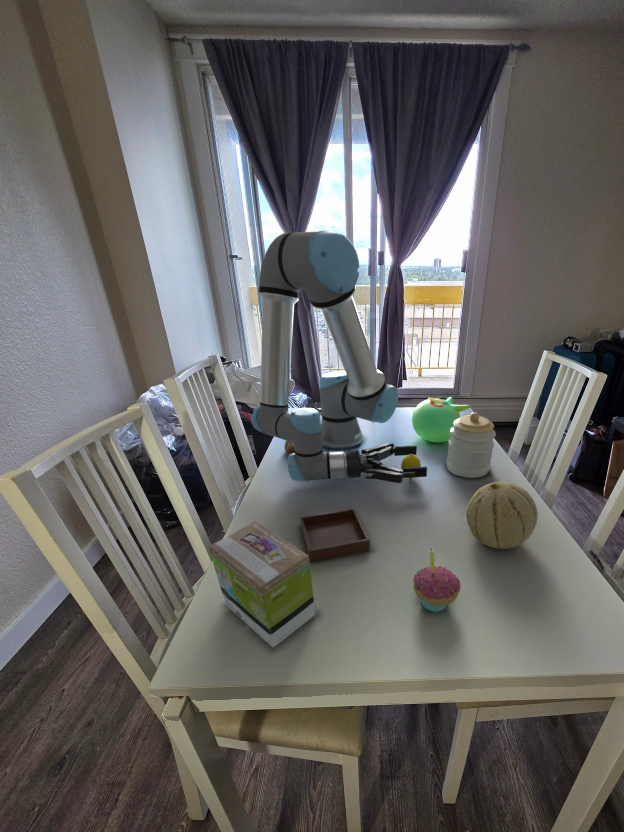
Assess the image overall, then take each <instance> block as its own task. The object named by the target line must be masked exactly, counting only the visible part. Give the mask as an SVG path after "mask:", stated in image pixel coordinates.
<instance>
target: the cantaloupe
mask: <svg viewBox="0 0 624 832" xmlns="http://www.w3.org/2000/svg"><path fill="white" fill-rule="evenodd" d="M466 521H467V525H468V528H469V531H470V532H471V534H472V536H473V537H474V538H475V539H476V540H477V541H479V543H481V544H483V545H485V546H487V547H489V548H491V549H492V548H493V549H497V550H499V549H501V550H502V549H503V550H504V549H505V550H507V549H513V548H516V547H519V546H520V545H522V544H524V543H525V542H526V541H527V540H528V539H529V538H530V536H531V535H533V533H534V531H535V529H536V526H537V522H538V508H537V504H536V502H535V501H534V498H533V497H532V496H531V494H530V493H529V492H528V491H527V490H526V489H525V488H523V487H521V486H520V485H518V484H515V483H513V482H509V481H497V482H490V483H488V484H485V485H483V486H481V487H480V488H478V489H476V491H475V492H474V493H473V495H472V496H471V498H470V500H469V502H468V504H467V508H466Z"/></svg>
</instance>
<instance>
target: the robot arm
mask: <svg viewBox="0 0 624 832" xmlns="http://www.w3.org/2000/svg"><path fill="white" fill-rule="evenodd" d="M359 269H360V260H359V256H358V252H357V249H356V248H355V246H354V244H353V242H352V241H351V240H350V239H349V238H348V237H347V236H346V235H344V234H342V233H340V232H338V231H330V230H326V229H325V230H324V229H322V230H319V231H287V232H283V233H281V234H280V235H278V236H276V237H275V238H274V239H273V241H271V243H270V244H269V246H268V248H267V249H266V252H265V254H264V257H263V260H262V263H261V267H260V272H259V280H258V281H259V282H258V295H259V296H260V298H261V299H262V318H261V321H262V322H261V351H260V353H261V354H260V355H261V357H260V391H259V405H257V406H255V408H254V409H253V410H252V413H251V415H250V421H251V422H250V423H251V425H252V427H253V428H254V429H255V430H257V431H258V432H260V433H262V434H264V435H266V436H271V437H275V438H278V439H281V440H283V441H285V442H286V441H289V442H292V443H294V450H295V453H293V454H290V455H288V457H287V465H288V474H289V478H290V479H291V480H292V481H294V482H295V481H297V482H298V481H299V482H300V481H304V482H308V481H317V480H331V479H332V480H338V479H345V478H346V477H347V478H348V479H355V478H361V476H362V474H364V475H365V479H366V480H378V481H382V482H389V483H394V484H402V483H403V482H404V479H409V478H412V479H415V478H424V477H425V478H427V477H428V467H427V466H421V467H409V468H403V470H401V468H397V467H394V466H391V465H387V464H384V463H383V462H382V460H385V459H387V458H389V457H391V456H394V457H402V456H407V455H410V454H413V455H415V456H417V451H418V450H417V449H418V445H398V446H397V445H396V446H395V443H393V442H387V443H383V444H380V445H376V446H372V447H369V448H362V449H360V450H357V449H355V450H352V448H354V447H355V448H356V447H358V446H359V445H360V444H361V443H362V442H363V432H362V429H361V426H360V424H359V421H358V419H362V420H364V421H368V422H372V423H377V424H384V423H387V422H388V421H389V420H391V418H392V417H393V415H394V413H395V411H396V410H397V406H398V401H399V391H398V388H397V387H396V386H394V385H393V384H388V383H387V381H386V377H385V375H384V373H383V372H382V371H380V370H379V369H377V366H376V363H375V360H374V357H373V354H372V352H371V348H370V345H369V342H368V339H367V336H366V333H365V330H364V327H363V324H362V321H361V318H360V315H359V312H358V308H357V306H356V302H355V300H354V294H355V293H356V289H357V286H356V285H357V283H358V280H359V277H360V272H359V271H358V270H359ZM300 291H305V294H306V297H307V298H308V300H309V303H310V305H311V306H312V307H313V308H314V309H317V310H320V313H321V316H322V318H323V321H324V323H325V326H326V328H327V330H328V332H329V336H330V337H331V340H332V343H333V345H334V347H335V350H336V353H337V354H338V357H339V360H340V362H341V365H342V367H343V370H336V371H330V372H327V373H324V374H322V375H321V376H320V378H319V388H318V391H319V399H320V400H319V401H320V408H318V407H317V405H318V403H317V401H315V402H313V403H314V404H313V408H312V407H299V408H296V409H294V410H292V411H289V399H290V398H289V396H290V379H291V378H290V377H291V362H292V345H293V344H292V343H293V330H294V329H293V328H294V327H293V326H294V310H295V304H296V303H297V302H298V301H299V298H300V297H299V295H300ZM319 409H320V410H319ZM323 448H326V449H331V450H333V451H324V449H323ZM346 449H351V450H346ZM344 450H346V451H344ZM414 477H415V478H414Z"/></svg>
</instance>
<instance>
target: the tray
mask: <svg viewBox="0 0 624 832" xmlns="http://www.w3.org/2000/svg"><path fill="white" fill-rule="evenodd" d="M299 520H300V528H301V533H302V536H303V539H304V544H305V547H306V551H307V555H308V556H309V563H313V562H319V561H324V560H329V559H334V558H339V557H344V556H349V555H354V554H355V555H356V554H359V553H366V552H370V550H371V549H370V548H371V547H370V545H371V543H370V542H371V541H370V538H369V536H368V534H367V532H366V530H365V528H364V525H363V523H362V521H361V520H360V517H359V515H358V512H357V511H356V509H355V508H354V507H353V508H348V509H342V510H341V509H340V510H336V511H330V512H324V513H318V514H312V515H306V516H300V517H299Z"/></svg>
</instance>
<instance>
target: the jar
mask: <svg viewBox="0 0 624 832" xmlns="http://www.w3.org/2000/svg"><path fill="white" fill-rule="evenodd" d="M453 424H454V426H453V427H452V428H451V429H450V434H451V438H450V439H449V440H448V451H447V458H446V469H447V470H448V471H449V472H450V473H451V474H453V475H454V476H458V477H462V478H469V479H476V478H482V477H484V476H486V475H487V474H488V473H489V471H490V469H491V466H492V455H493V449H494V447H495V444H494V443H495V442H494V439H495V438H496V436H497V433H496V430H494V428H495V424H494V423H493V422H492V421H490V420H489V419H488V418H487V417H485V416H482V415H480V414H479V413H478V412H476V411H473V412H471V413H470V414H467V415H462V416H460V418H459V419H456V420H455V421H454V423H453Z"/></svg>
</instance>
